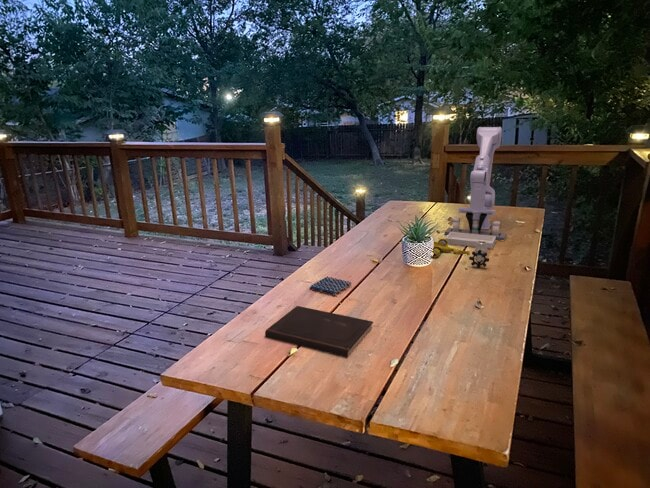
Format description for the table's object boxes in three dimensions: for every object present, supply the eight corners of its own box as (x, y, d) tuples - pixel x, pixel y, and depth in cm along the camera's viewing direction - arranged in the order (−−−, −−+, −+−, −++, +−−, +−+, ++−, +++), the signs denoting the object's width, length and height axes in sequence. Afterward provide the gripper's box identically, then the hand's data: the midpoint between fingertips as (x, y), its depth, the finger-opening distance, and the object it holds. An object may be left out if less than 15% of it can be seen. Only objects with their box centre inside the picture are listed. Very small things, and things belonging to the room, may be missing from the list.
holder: (448, 230, 201) (448, 227, 200) (505, 236, 190) (506, 233, 190) (444, 235, 195) (444, 231, 194) (503, 241, 184) (504, 237, 184)
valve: (471, 256, 168) (468, 267, 158) (472, 239, 166) (469, 249, 156) (490, 258, 166) (488, 269, 155) (491, 241, 164) (490, 251, 153)
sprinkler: (413, 244, 169) (424, 233, 182) (411, 254, 171) (422, 242, 183) (465, 257, 162) (473, 244, 174) (463, 268, 163) (471, 254, 176)
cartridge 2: (491, 236, 191) (492, 220, 189) (499, 237, 190) (500, 221, 187) (490, 238, 188) (491, 222, 186) (498, 239, 187) (499, 222, 185)
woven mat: (353, 286, 145) (353, 281, 145) (335, 298, 137) (335, 292, 136) (326, 280, 151) (326, 275, 150) (307, 291, 143) (307, 285, 142)
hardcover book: (297, 313, 129) (297, 305, 128) (373, 329, 118) (373, 321, 118) (265, 338, 115) (264, 330, 114) (347, 359, 105) (347, 351, 104)
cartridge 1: (452, 232, 198) (453, 217, 196) (459, 233, 197) (460, 217, 194) (451, 234, 195) (452, 218, 193) (458, 235, 194) (459, 219, 192)
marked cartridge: (471, 234, 194) (473, 218, 192) (479, 235, 193) (480, 219, 191) (470, 236, 192) (471, 220, 190) (477, 237, 191) (479, 221, 188)
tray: (450, 237, 191) (450, 231, 191) (495, 242, 183) (495, 236, 183) (445, 244, 183) (445, 238, 182) (492, 249, 175) (492, 243, 174)
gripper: (457, 199, 187) (455, 231, 191) (494, 202, 181) (492, 234, 185) (461, 196, 193) (459, 226, 197) (497, 198, 187) (494, 230, 191)
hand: (475, 230), depth 192 cm, fingers closed on marked cartridge, 3 cm apart
